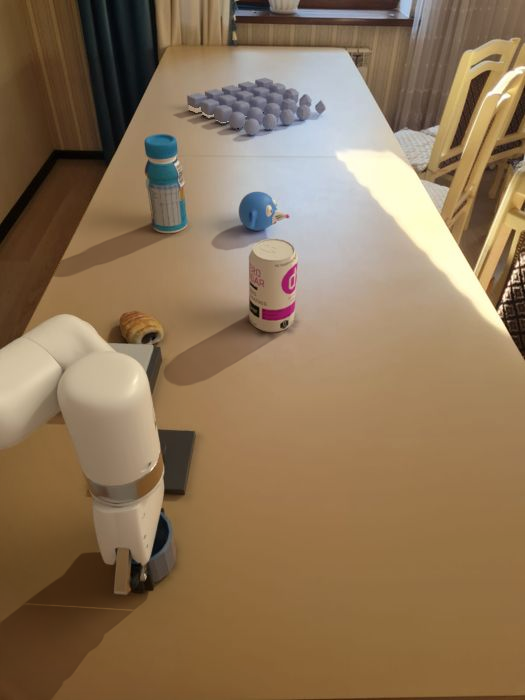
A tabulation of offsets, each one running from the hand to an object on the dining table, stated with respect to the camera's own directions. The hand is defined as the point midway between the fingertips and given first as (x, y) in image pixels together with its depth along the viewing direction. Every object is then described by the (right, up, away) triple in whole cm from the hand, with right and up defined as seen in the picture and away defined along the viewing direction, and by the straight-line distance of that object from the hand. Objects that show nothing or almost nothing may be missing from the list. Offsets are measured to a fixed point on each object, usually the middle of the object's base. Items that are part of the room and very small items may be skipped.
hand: (147, 555), depth 64 cm
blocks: (+12, +106, +122) cm, 162 cm away
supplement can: (+15, +30, +36) cm, 49 cm away
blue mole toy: (+14, +52, +61) cm, 82 cm away
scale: (-10, +19, +23) cm, 31 cm away
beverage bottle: (-8, +53, +62) cm, 82 cm away
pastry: (-8, +27, +32) cm, 42 cm away
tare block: (-2, +9, +11) cm, 14 cm away
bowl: (0, -1, +1) cm, 1 cm away
